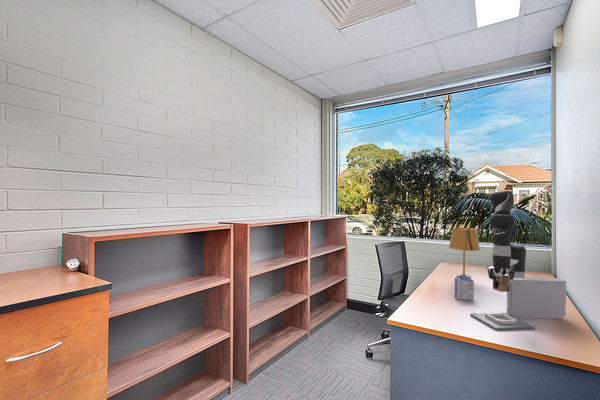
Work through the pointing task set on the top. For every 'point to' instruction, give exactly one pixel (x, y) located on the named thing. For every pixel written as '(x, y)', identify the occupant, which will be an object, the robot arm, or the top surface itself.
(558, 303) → the game console
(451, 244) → the lamp
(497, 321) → the baseplate
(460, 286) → the ink cartridge box
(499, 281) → the walnut block
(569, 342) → the top surface
